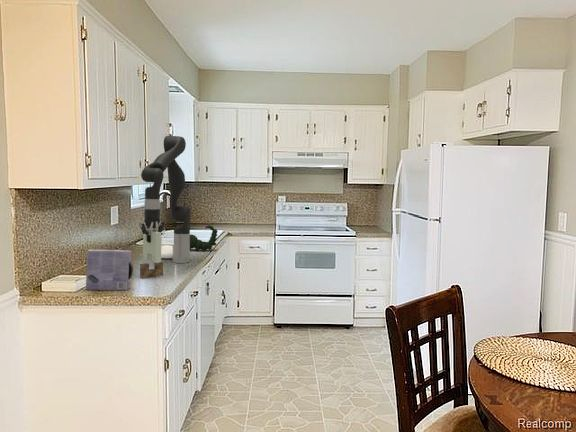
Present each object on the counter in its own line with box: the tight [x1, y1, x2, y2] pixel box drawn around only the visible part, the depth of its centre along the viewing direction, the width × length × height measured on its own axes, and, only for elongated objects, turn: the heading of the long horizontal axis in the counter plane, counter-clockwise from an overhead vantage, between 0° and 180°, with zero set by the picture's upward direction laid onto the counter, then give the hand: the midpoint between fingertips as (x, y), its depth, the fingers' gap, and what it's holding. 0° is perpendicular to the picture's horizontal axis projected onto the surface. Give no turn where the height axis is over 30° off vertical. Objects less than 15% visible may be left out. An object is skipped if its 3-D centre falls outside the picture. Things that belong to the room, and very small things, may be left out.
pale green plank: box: [142, 230, 162, 263], centre depth 230 cm, size 11×3×15 cm, turn 51°
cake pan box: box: [85, 249, 134, 291], centre depth 203 cm, size 19×5×18 cm, turn 99°
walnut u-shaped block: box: [139, 260, 164, 279], centre depth 231 cm, size 12×2×7 cm, turn 141°
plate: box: [161, 244, 173, 259], centre depth 290 cm, size 28×6×27 cm
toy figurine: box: [190, 225, 218, 252], centre depth 313 cm, size 9×19×25 cm
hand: (152, 242), depth 230 cm, fingers closed on pale green plank, 3 cm apart
